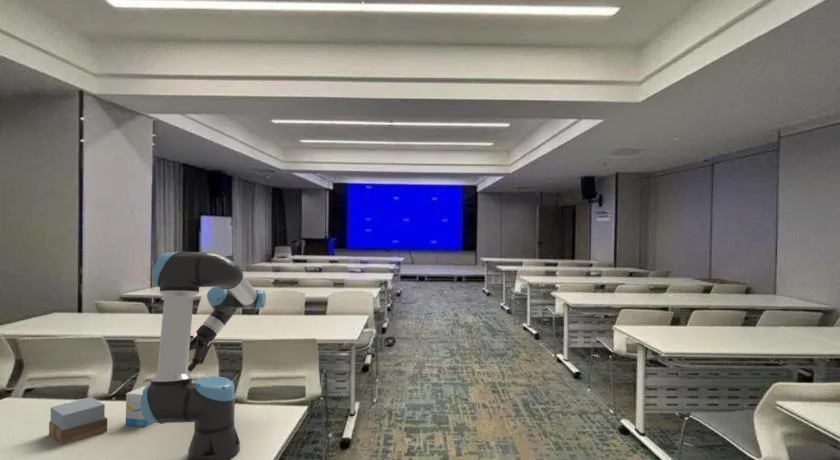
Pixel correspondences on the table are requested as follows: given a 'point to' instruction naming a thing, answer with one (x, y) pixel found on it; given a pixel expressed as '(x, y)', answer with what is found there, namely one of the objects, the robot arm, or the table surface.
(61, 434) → the walnut base slab
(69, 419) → the grey top slab
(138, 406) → the ink box
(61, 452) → the table surface
